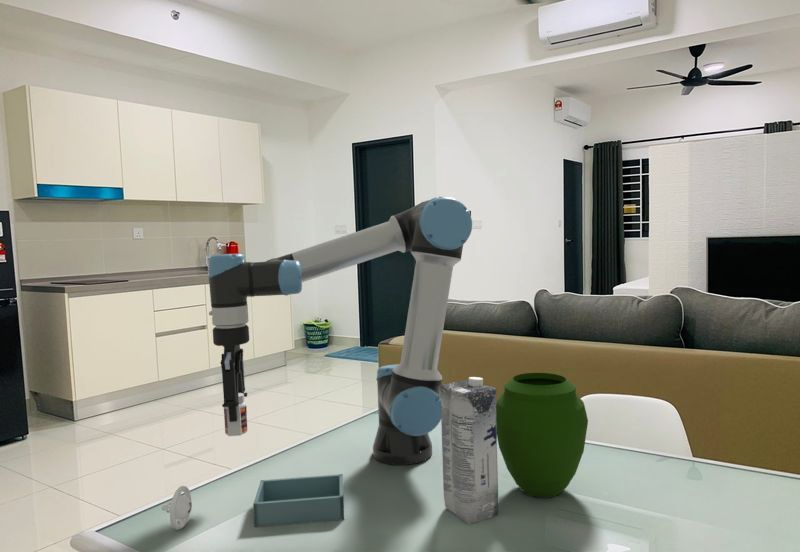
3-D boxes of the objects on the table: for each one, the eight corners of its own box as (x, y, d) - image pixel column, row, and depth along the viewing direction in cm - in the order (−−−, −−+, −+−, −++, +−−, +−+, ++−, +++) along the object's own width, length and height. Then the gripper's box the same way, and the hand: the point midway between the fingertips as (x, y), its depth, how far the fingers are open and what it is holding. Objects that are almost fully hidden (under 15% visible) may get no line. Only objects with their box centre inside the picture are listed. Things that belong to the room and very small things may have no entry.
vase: (594, 479, 131) (593, 371, 129) (582, 518, 113) (580, 394, 112) (508, 467, 139) (506, 366, 138) (484, 502, 122) (481, 386, 120)
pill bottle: (241, 436, 126) (239, 398, 125) (221, 435, 127) (218, 397, 126) (251, 429, 130) (249, 392, 130) (231, 428, 131) (229, 391, 131)
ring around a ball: (182, 537, 111) (179, 496, 111) (153, 537, 112) (150, 496, 111) (199, 517, 119) (197, 479, 119) (172, 517, 120) (170, 479, 119)
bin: (343, 494, 128) (342, 474, 127) (344, 519, 116) (343, 497, 116) (261, 501, 126) (260, 480, 125) (254, 527, 114) (253, 504, 114)
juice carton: (467, 528, 111) (463, 387, 109) (438, 507, 120) (434, 376, 118) (505, 517, 115) (502, 381, 113) (474, 497, 124) (471, 370, 122)
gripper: (220, 320, 135) (227, 420, 137) (203, 333, 118) (210, 446, 119) (254, 318, 136) (260, 417, 138) (241, 330, 119) (248, 443, 120)
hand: (237, 430), depth 129 cm, fingers closed on pill bottle, 5 cm apart
